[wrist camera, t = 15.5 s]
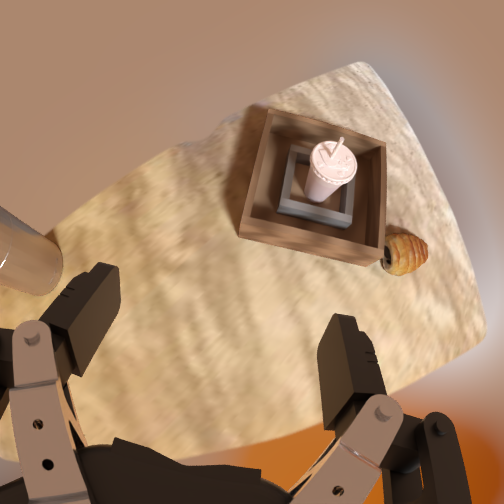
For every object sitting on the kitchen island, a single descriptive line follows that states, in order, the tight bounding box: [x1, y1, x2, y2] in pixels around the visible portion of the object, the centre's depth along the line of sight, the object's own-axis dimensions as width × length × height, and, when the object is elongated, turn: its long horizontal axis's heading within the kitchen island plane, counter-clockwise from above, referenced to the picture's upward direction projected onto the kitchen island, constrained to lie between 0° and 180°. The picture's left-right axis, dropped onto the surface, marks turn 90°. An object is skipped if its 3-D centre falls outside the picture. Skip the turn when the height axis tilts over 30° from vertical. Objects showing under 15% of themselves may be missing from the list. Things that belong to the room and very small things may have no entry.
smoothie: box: [304, 137, 357, 203], centre depth 40 cm, size 6×6×14 cm
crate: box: [238, 108, 387, 267], centre depth 45 cm, size 20×20×6 cm
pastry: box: [382, 233, 428, 276], centre depth 45 cm, size 9×7×4 cm
